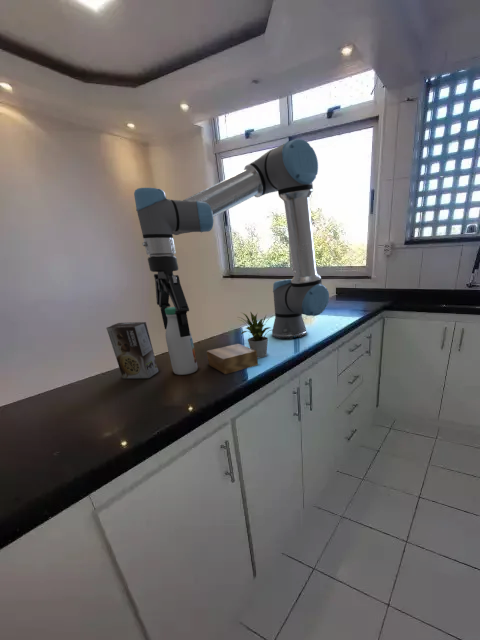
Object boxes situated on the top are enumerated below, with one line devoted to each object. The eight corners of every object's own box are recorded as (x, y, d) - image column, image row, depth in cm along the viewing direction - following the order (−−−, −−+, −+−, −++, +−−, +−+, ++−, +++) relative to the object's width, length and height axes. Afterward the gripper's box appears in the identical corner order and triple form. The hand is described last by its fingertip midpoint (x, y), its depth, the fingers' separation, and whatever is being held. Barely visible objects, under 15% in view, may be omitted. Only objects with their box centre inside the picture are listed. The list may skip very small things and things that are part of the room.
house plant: (228, 357, 111) (221, 311, 104) (254, 347, 121) (249, 305, 114) (257, 364, 104) (252, 315, 97) (283, 353, 114) (280, 307, 107)
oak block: (240, 357, 112) (238, 343, 109) (258, 365, 103) (256, 350, 101) (208, 365, 105) (206, 350, 103) (225, 374, 97) (223, 359, 94)
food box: (159, 371, 101) (147, 321, 94) (149, 378, 95) (134, 326, 88) (133, 371, 102) (119, 321, 95) (121, 378, 96) (105, 326, 89)
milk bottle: (193, 375, 97) (180, 309, 88) (169, 375, 97) (154, 310, 88) (201, 366, 104) (190, 305, 95) (178, 367, 104) (165, 306, 95)
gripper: (135, 256, 92) (152, 327, 101) (162, 256, 75) (179, 342, 84) (161, 255, 96) (174, 324, 106) (192, 255, 79) (205, 337, 88)
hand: (177, 332), depth 95 cm, fingers open, 13 cm apart
